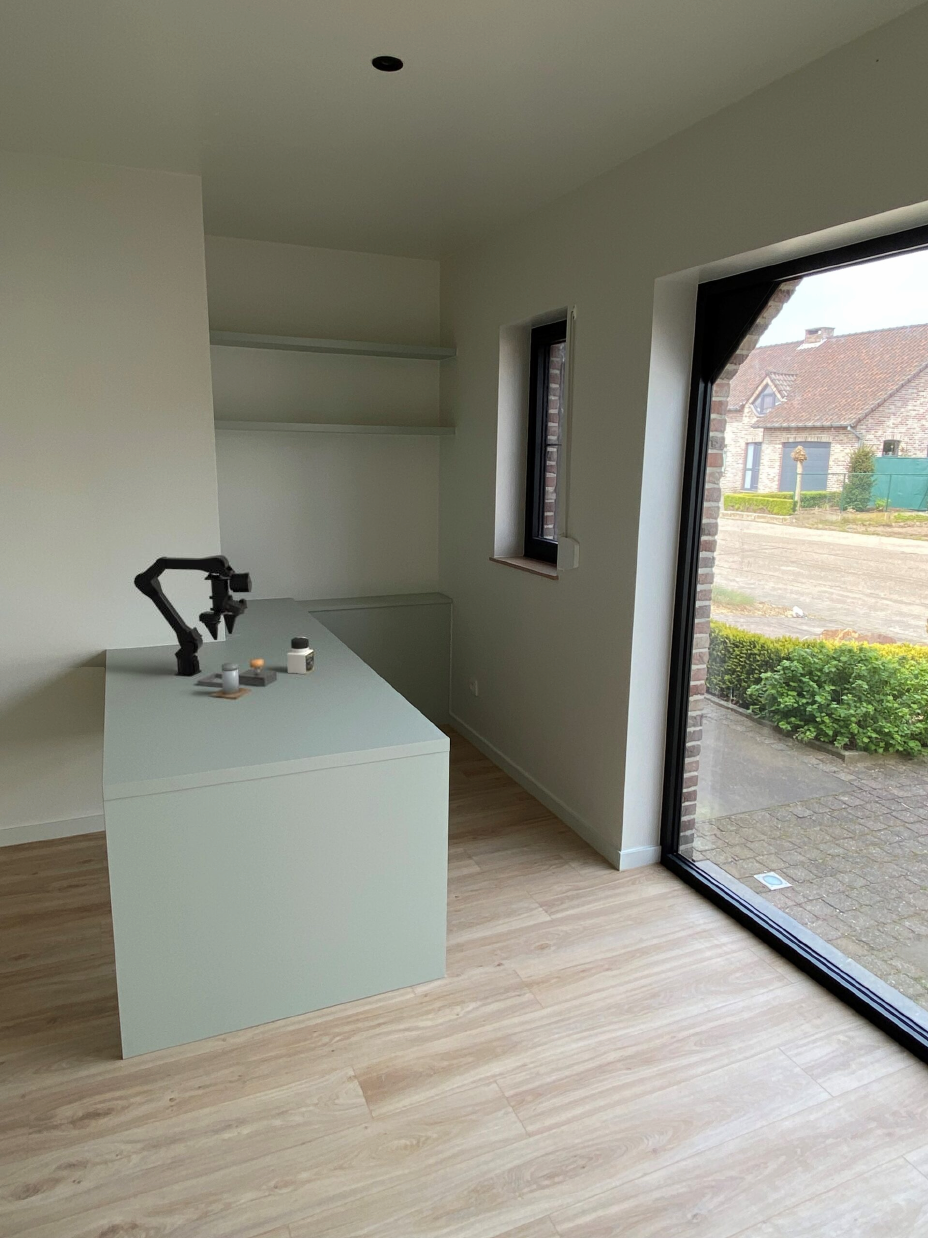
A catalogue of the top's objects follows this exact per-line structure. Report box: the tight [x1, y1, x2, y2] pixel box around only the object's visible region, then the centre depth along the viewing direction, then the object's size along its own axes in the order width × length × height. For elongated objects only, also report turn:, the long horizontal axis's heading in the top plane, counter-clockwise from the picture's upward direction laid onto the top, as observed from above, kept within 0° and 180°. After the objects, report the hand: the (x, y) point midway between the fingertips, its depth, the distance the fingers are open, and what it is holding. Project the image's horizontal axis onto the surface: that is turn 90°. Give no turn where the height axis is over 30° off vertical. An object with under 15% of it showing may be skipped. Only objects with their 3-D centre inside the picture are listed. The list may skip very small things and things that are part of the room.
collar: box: [197, 672, 223, 689], centre depth 268 cm, size 10×10×2 cm
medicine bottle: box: [286, 636, 315, 675], centre depth 280 cm, size 7×7×12 cm
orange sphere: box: [249, 658, 265, 674], centre depth 267 cm, size 4×4×4 cm
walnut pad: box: [210, 687, 252, 700], centre depth 256 cm, size 9×9×1 cm
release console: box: [238, 668, 278, 687], centre depth 268 cm, size 10×8×3 cm
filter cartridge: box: [221, 662, 240, 694], centre depth 255 cm, size 5×5×9 cm
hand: (223, 636), depth 276 cm, fingers open, 9 cm apart
